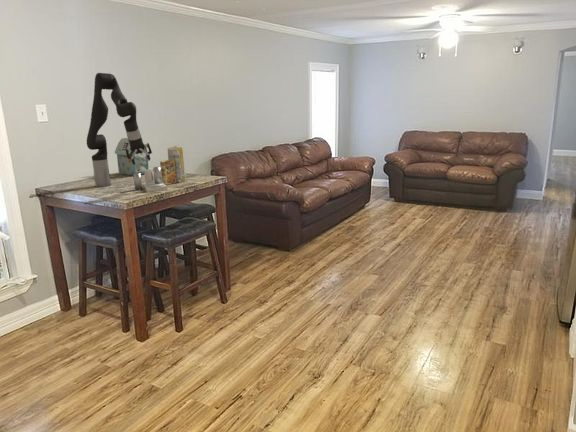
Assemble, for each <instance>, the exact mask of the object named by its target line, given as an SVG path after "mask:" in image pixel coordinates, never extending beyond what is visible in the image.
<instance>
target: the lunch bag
mask: <svg viewBox="0 0 576 432" xmlns="http://www.w3.org/2000/svg"><path fill="white" fill-rule="evenodd" d="M143 144H144V145H145V143H144V142H143ZM126 148H127V149H128V148H130V144H129V141H128V138H127V137H122V138H120V139H119V141H118V143H117V145H116V148H115V150H114V154H115V155H116V159H117V168H118V169H117V170H118V174H120V175H127V176H133V174H135V173H141V175H143V174H144V175H145V173H144V170H150V169H149V161H148V157H147V154H145V153H144V152H142V153H139V154H135V156H134V161H135V165H134V164H133V163H132V160H131V159H128V158H127V154H126V150H125V149H126ZM144 149H145V150H146V151H147V152H148V148H147V147H145V148H144ZM128 153H129V156H131V154H132V151H131V150H130V152H128Z"/></svg>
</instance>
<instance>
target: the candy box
mask: <svg viewBox="0 0 576 432" xmlns="http://www.w3.org/2000/svg"><path fill="white" fill-rule="evenodd" d="M159 164H160V165H159V167H161V177H162V183H164V184H165V185H166V186H167V185H172V184H176V183H178V182H176V172H175V163H174V160H168V159H167V160H163V161H159Z"/></svg>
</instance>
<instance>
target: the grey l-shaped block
mask: <svg viewBox="0 0 576 432" xmlns="http://www.w3.org/2000/svg"><path fill="white" fill-rule="evenodd" d="M144 173H145V174H144ZM144 173H143V174H144V181H145V183H142V190H144V191H145V192H146V193H153V192H160V191H161V192H162V191H167V190H168V187H167V185H165V184H164V183H161V184H155V180H154V171H153V168H152V169H149V170H144Z"/></svg>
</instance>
